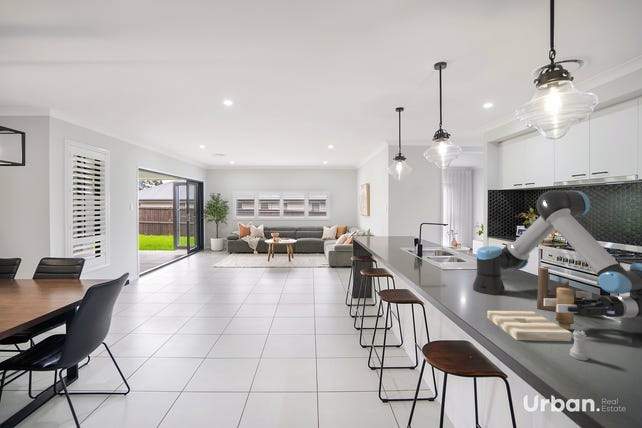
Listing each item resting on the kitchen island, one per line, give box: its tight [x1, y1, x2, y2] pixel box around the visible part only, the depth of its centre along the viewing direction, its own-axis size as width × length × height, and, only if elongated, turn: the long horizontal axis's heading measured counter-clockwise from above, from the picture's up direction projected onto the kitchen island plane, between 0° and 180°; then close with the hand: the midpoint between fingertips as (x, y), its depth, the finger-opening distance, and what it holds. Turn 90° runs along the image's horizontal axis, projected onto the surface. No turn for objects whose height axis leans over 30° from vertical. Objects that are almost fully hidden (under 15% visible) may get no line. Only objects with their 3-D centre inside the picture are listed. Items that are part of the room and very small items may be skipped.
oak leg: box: [555, 288, 575, 331], centre depth 111 cm, size 5×5×15 cm
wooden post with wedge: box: [536, 267, 570, 312], centre depth 132 cm, size 4×11×18 cm, turn 55°
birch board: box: [486, 310, 573, 342], centre depth 112 cm, size 20×18×3 cm
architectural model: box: [575, 290, 593, 305], centre depth 135 cm, size 3×7×7 cm, turn 61°
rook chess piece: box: [569, 329, 590, 362], centre depth 91 cm, size 4×4×8 cm
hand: (550, 305), depth 111 cm, fingers open, 6 cm apart
